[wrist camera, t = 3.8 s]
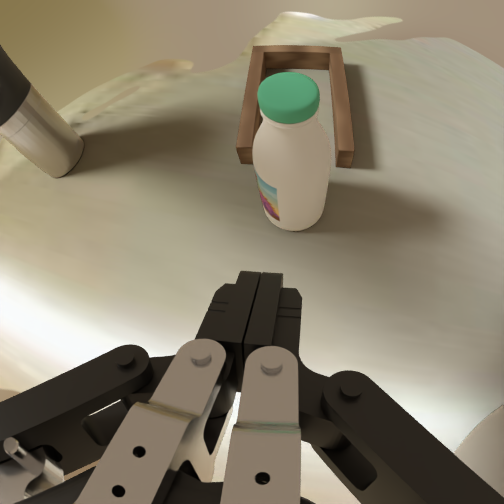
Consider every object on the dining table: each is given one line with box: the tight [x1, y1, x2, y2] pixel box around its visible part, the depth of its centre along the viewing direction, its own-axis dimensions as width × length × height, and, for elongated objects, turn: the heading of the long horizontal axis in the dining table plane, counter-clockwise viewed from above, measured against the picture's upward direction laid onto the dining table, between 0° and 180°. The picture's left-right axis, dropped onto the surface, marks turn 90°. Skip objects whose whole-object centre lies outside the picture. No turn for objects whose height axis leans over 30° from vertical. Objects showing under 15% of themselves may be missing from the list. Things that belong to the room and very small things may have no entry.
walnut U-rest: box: [236, 45, 354, 168], centre depth 42 cm, size 15×23×4 cm, turn 174°
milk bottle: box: [252, 72, 331, 231], centre depth 29 cm, size 8×8×20 cm
